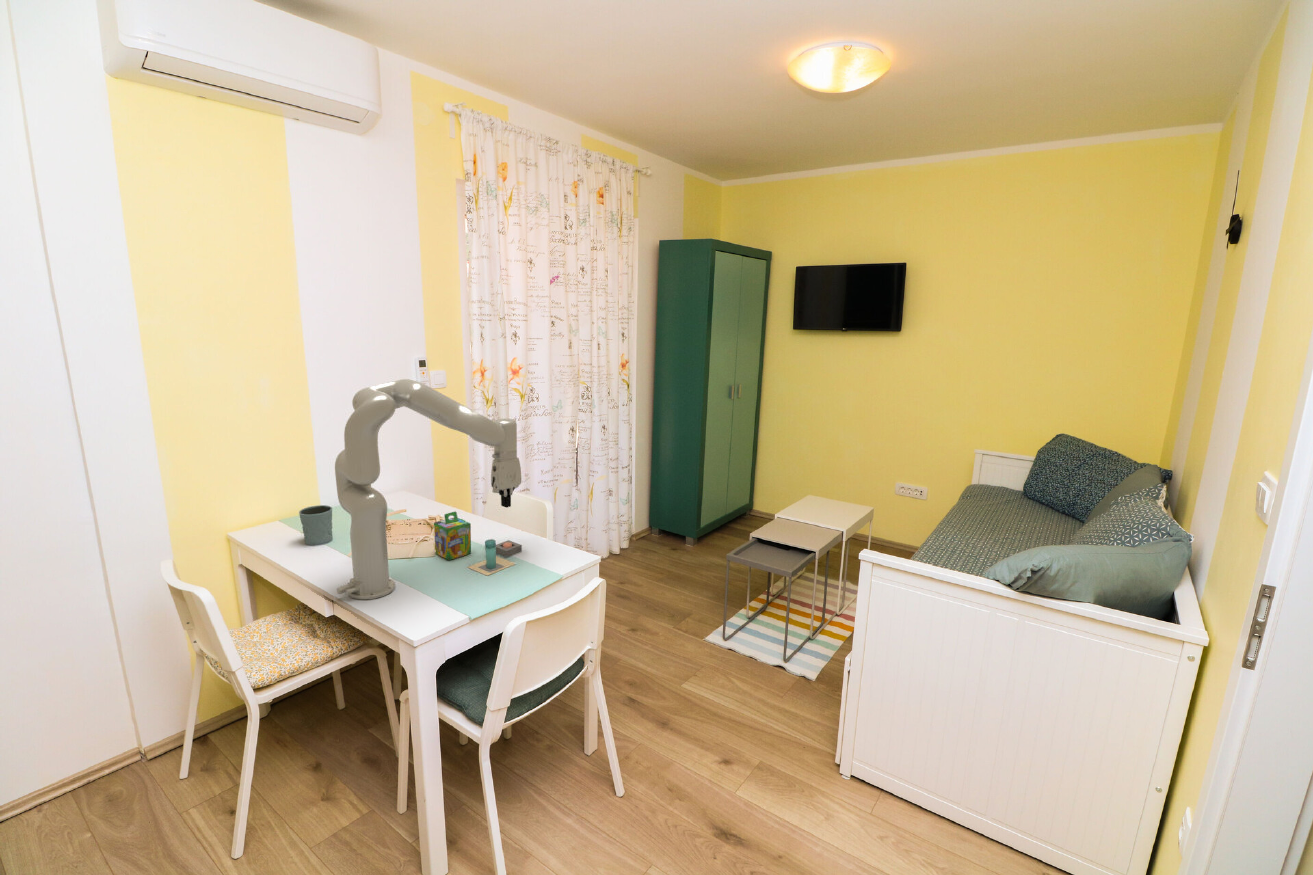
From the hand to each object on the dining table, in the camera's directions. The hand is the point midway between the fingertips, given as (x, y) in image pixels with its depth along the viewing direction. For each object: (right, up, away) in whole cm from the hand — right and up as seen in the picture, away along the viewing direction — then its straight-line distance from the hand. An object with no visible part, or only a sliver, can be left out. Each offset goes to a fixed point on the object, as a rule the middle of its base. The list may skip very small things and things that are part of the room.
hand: (506, 506), depth 204 cm
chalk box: (-18, -17, +1) cm, 25 cm away
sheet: (-3, -19, -8) cm, 21 cm away
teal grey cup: (-69, -14, +7) cm, 71 cm away
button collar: (0, -17, +4) cm, 17 cm away
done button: (0, -16, +3) cm, 17 cm away
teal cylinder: (-2, -19, -9) cm, 21 cm away
